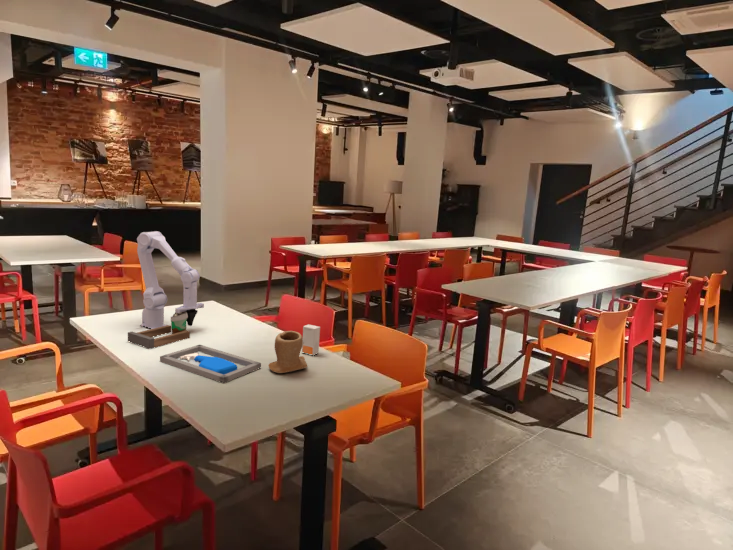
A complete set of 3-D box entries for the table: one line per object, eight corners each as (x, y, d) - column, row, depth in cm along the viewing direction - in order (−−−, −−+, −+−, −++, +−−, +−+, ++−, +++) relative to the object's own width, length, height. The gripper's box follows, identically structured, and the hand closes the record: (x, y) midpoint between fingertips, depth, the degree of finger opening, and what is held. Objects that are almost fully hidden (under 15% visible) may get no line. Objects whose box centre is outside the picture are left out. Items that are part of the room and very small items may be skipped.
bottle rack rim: (160, 361, 184) (160, 356, 184) (199, 349, 200) (199, 344, 200) (223, 383, 168) (223, 377, 168) (260, 368, 185) (261, 363, 184)
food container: (186, 338, 211) (185, 316, 210) (171, 339, 210) (170, 316, 208) (190, 330, 223) (189, 309, 221) (176, 330, 222) (175, 309, 220)
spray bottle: (240, 363, 180) (200, 348, 195) (215, 371, 172) (176, 354, 186) (240, 371, 181) (200, 355, 195) (215, 379, 172) (176, 362, 187)
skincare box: (301, 353, 204) (302, 326, 202) (307, 351, 208) (308, 323, 206) (313, 356, 202) (314, 328, 199) (318, 354, 205) (320, 326, 203)
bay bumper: (127, 341, 203) (127, 332, 202) (132, 340, 205) (132, 331, 204) (149, 348, 196) (149, 339, 196) (154, 347, 198) (154, 338, 198)
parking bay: (132, 340, 205) (132, 333, 204) (168, 331, 220) (168, 325, 220) (154, 347, 198) (154, 340, 198) (189, 337, 214) (189, 331, 213)
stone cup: (278, 378, 176) (280, 339, 173) (264, 368, 185) (266, 330, 183) (315, 372, 185) (317, 334, 182) (299, 362, 194) (301, 325, 192)
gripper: (183, 300, 211) (183, 330, 214) (208, 295, 224) (208, 323, 226) (172, 297, 215) (172, 327, 217) (197, 293, 227) (197, 321, 230)
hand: (189, 325), depth 222 cm, fingers closed
